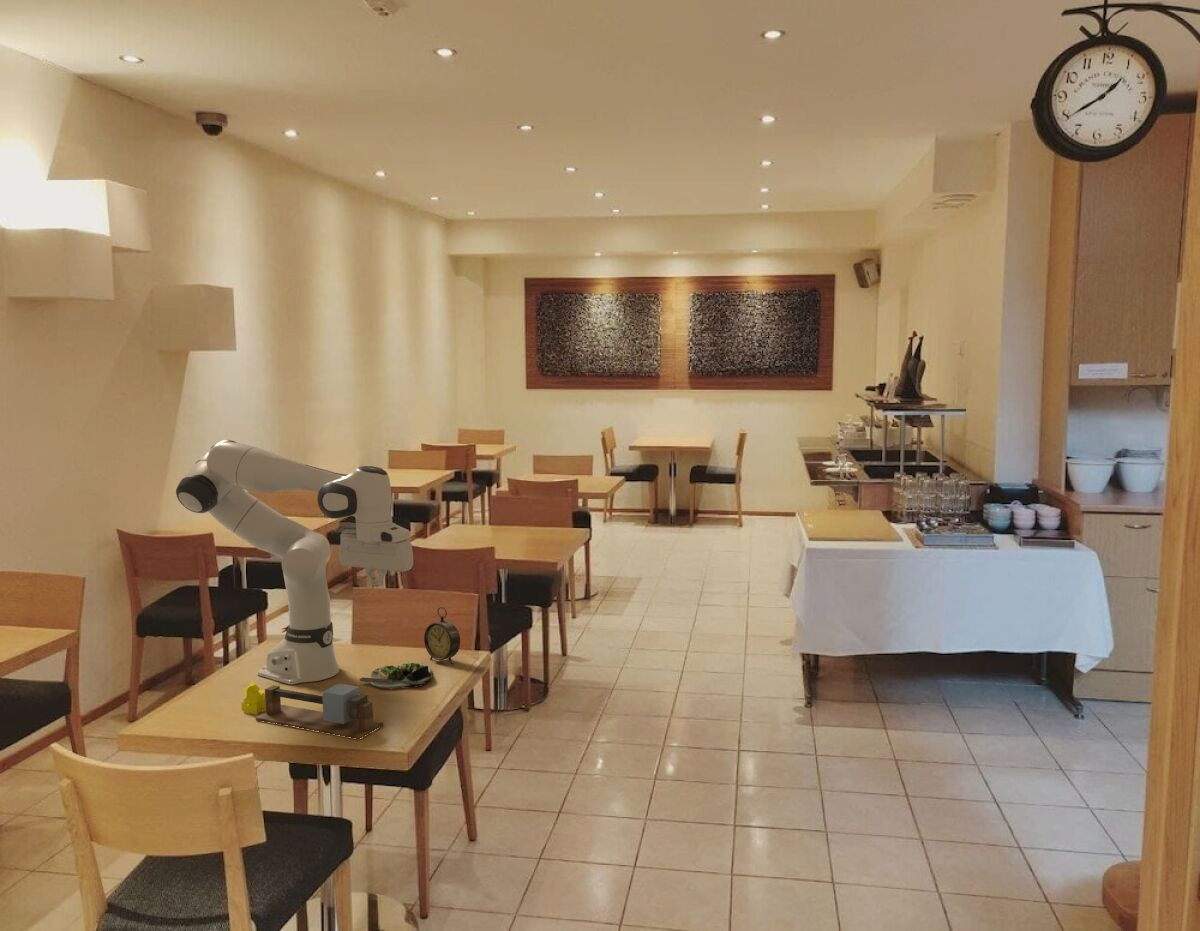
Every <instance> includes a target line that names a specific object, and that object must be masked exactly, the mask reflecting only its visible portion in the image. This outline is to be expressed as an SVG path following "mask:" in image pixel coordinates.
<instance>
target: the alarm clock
mask: <svg viewBox="0 0 1200 931" xmlns="http://www.w3.org/2000/svg"><path fill="white" fill-rule="evenodd" d="M440 609H443V610H444V613H445V614H444V615H445V616H444V615H443V616H442V615H441V614H440V612H439V611H440ZM437 615H438V616H439V618H440V620H439V621H436V622H432V623H430V624H429V625H428V626H427V627H426V629H425V631H424V635H423V641H424V646H425V649H426V652H427V654H428V655H429V656H430V657H429V660H430V659H432V660H433V659H434V660H436V661H444V660H447V659H448V660H449V662H450V664H453V665H454V663H453V660H452V658H453V657H454V656H455V655H457V653H458V652H459V650H460V648H461V636H460V632H459V631H458V629H457V627H456V626H455V625H454V624H453V623H452V622H450V621H448V620H444V619H446V617H447V615H448V612H447V610H446V608H445V607H443V606H439V607H438V608H437Z"/></svg>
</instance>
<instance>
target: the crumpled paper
mask: <svg viewBox="0 0 1200 931" xmlns="http://www.w3.org/2000/svg"><path fill="white" fill-rule="evenodd" d="M243 690H244V696H245V698H244V699H243V700H242V702H241V704H240V705H241V710H243V713H244V712H246V713H245V714H250V713H258V714H259V712H260V713H262V712H266V702H265V689H260V687H259V686H258V685H257V684H256V682H254V680H253V679H252V680H251V682H250V683H249V685H248V686H247V687H245V688H244V689H243ZM262 710H263V711H262Z"/></svg>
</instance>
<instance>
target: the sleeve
mask: <svg viewBox="0 0 1200 931" xmlns="http://www.w3.org/2000/svg"><path fill="white" fill-rule="evenodd" d="M359 694H360V687H359V686H357V685H350V684H346V683H345V684H344V683H337V684H335V685H333V686H331V687H328V688H327V689H325V690H323V691H322V693H321V696H322V697H323V704H322V712H323V719H324V720H325V721H331V722H336V723H342V724H345V723H347V722H348V721H350V720H352V718H350V717H349V714H348V711H347V701H348V700H350V699H352V698H354V697H355V696H357V695H359Z"/></svg>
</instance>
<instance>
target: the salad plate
mask: <svg viewBox="0 0 1200 931" xmlns="http://www.w3.org/2000/svg"><path fill="white" fill-rule="evenodd" d="M432 677H433V674H432V670H431V667H430V666H429V665H427V664H426V663H425V664H424V663H418V662H417V663H416V662H407V663H402V664H400V665H384V666H380V667H377V668H375V669H373V670H371V672H370V675H369V677H359V681H360V682H363V683H367V684H370V685H372V686H373V687H377V688H379V689H380V688H381V689H384V688H385V690H391V689H390V688H397V689H403V688H402V687H411V688H416V687H415V686H419V687H422V686H425V685H427V684H429V683H430V682H431V681H432ZM428 682H429V683H428ZM426 683H427V684H426ZM424 684H425V685H424ZM421 685H422V686H421Z"/></svg>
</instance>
